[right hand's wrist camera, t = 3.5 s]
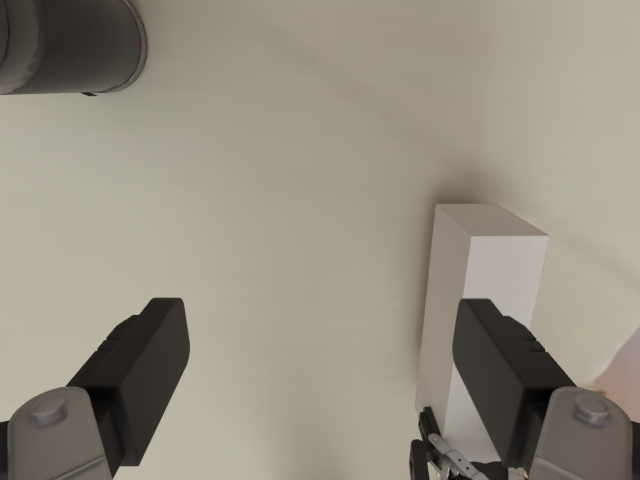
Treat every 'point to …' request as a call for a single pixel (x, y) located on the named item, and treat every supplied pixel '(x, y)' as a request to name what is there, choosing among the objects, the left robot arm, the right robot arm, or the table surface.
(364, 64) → the table surface
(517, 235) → the box
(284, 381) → the table surface
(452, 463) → the left robot arm
